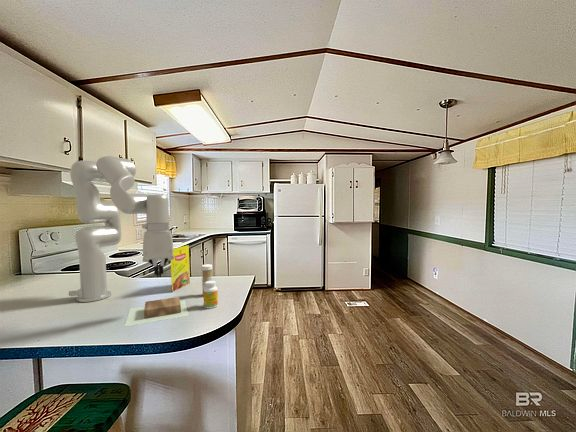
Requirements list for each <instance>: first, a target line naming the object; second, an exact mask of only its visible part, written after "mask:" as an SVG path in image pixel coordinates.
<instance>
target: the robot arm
mask: <svg viewBox="0 0 576 432" xmlns="http://www.w3.org/2000/svg"><path fill="white" fill-rule="evenodd" d="M136 173H137V167H136V164H135V163H134V162H133V160H131V159H128V158H122V157H117V156H111V155H110V156H101V157H100V158H98V159H97V161H94V160H78V161H75V162H74V163H73V164H72V165H71V167H70V173H69V175H70V180H71V184H72V186H73V188H74V191H75V198H76V199H75V200H76V210H77V211H76V212H77V217H78V220H79V222H81V223H83V224H103V223H104V225H96V226H95V225H93V226H85V227H81V228H79V229H78V230H77V231H76V233H75V235H74V236H75V237H74V239H75V243H76V247H77V251H78V260H79V261H78V262H79V263H78V264H79V281H80V283H79V284H80V289H79V288H78V290H70V291H68V296H70V297H75V296H77V297H76V301H77V302H79V303H88V302H89V303H90V302H97V301H100V300H104V299H107V298H109V297H110V296H111V295H112V292H111V291H110V290H108V284H107V282H108V281H107V279H108V278H107V264H106V263H107V259H106V255H105V253H104V252H103V251H102V250H101V249H100V248H103V247H104V248H105V247H110V246H111V247H112V246H115V245H118V244H119V243H121V240H122V225H121V224H122V223H121V213H120V212H122V213H124V214H126V215H138V214H139V215H140V214H143V215H145V216H146V217H145V218H146V223H145V224H142V225H141V226H142V227H141V229H145V230H146V231H144V233H143V238H142V259H141V260H142V262H143V263H149V264H151V265H152V266H153V267H154V269H153V271H154V273H153V274H154V276H156V278H161V277H162V275H164V266H165V264H167V263H168V261H170V262H171V260H173V259H174V256H173V249H174V242H173V241H174V239H173V234H172V230H170V222H169V221H170V217H169V216H170V214H169V211H170V209H169V205H170V204H169V197H168V195H166V194H160V193H159V194H158V193H157V194H155V193H153V194H152V193H151V194H148V193H129V192H127V191H129V190H130V189H132V187H134V184H135V182H136V181H135V176H136ZM93 182H98V183H99V182H101V183H108V184H109V185H111V186H110V190H109V195H110V199H111V201H112V202H111V201H101V197H100V195H101V194H100V193H101V192H100V191H99V188H98V187H97V186H96V185H95V184H94V183H93ZM158 259H160V262H159V264H158V262H157V260H158Z"/></svg>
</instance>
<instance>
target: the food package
mask: <svg viewBox="0 0 576 432" xmlns="http://www.w3.org/2000/svg"><path fill="white" fill-rule="evenodd" d="M173 256H174V259H173V260H170V276H171V277H170V279H171V280H170V281H171V282H170V283H171V293H174V292H176V291H178V290H179V289H181V288H184V287H185V286H188V285H189V284H191V280H190V279H191V278H190V277H191V276H190V273H191V271H190V245H189V244H188V245H187V244H186V245H183V246H179V247H175V248H173ZM175 290H176V291H175ZM173 291H174V292H173Z"/></svg>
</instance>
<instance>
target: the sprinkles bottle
mask: <svg viewBox="0 0 576 432" xmlns="http://www.w3.org/2000/svg"><path fill="white" fill-rule="evenodd" d="M201 271H202V274H201V275H202V279H201V280H202V285H201V286H202V296H203V297H204V288H205V287H206V286H205V282H207V281H213V265H212V264H210V263H209V264H208V263H207V264H202V265H201Z"/></svg>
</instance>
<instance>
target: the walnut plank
mask: <svg viewBox="0 0 576 432" xmlns="http://www.w3.org/2000/svg"><path fill="white" fill-rule="evenodd" d="M180 301H181V300H180V296H176V297H168V298H161V299H155V300H148V301H144V302H145V303H144V306H145V308H144V319H147V318H153V317H159V316H165V315H171V314H177V313H181V304H180Z"/></svg>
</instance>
